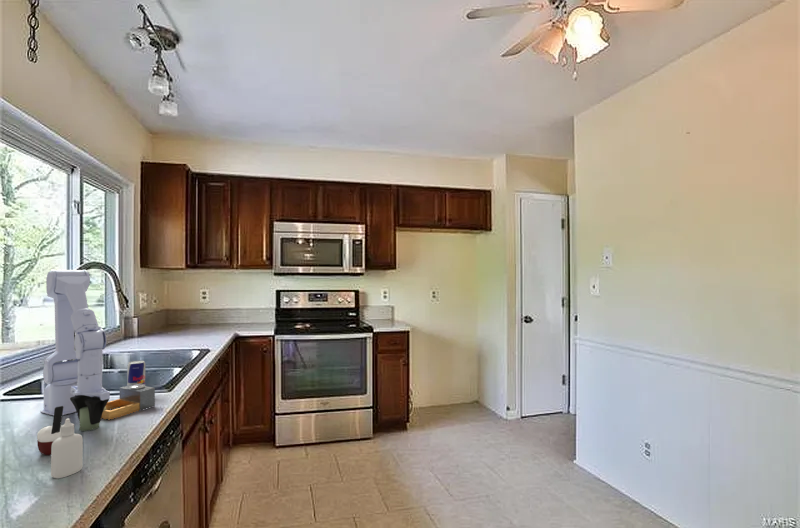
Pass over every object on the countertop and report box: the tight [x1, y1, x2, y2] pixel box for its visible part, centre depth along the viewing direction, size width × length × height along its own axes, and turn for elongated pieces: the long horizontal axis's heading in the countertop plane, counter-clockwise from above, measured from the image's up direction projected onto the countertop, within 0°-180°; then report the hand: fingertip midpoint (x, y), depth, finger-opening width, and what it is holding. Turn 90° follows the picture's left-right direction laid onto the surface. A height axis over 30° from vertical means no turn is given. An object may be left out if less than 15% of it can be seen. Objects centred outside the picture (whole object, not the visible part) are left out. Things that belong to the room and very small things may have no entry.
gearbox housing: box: [101, 384, 156, 421], centre depth 142 cm, size 10×15×7 cm
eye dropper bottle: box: [50, 418, 84, 480], centre depth 100 cm, size 4×6×12 cm
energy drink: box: [126, 360, 146, 386], centre depth 157 cm, size 5×5×12 cm
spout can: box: [79, 407, 106, 432], centre depth 128 cm, size 5×7×6 cm
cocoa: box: [36, 406, 63, 456], centre depth 110 cm, size 10×6×12 cm, turn 28°
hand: (89, 422), depth 127 cm, fingers closed on spout can, 5 cm apart
